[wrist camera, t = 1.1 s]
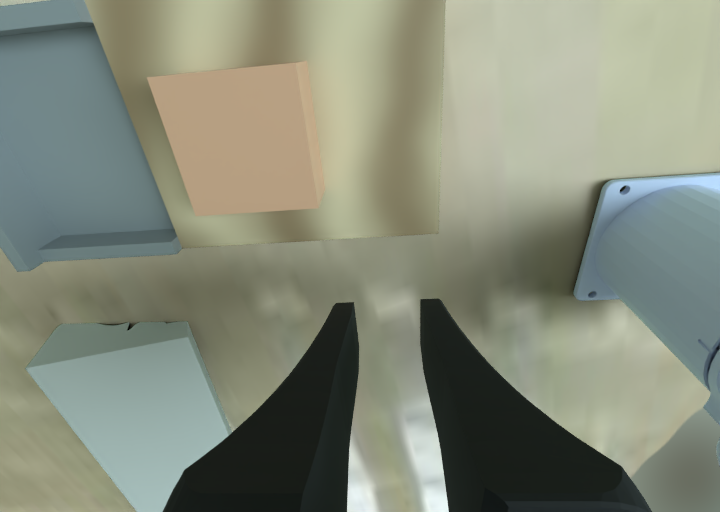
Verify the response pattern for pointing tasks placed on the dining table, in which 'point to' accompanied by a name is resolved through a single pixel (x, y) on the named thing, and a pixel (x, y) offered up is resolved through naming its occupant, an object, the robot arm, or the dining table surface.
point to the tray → (70, 146)
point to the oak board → (329, 95)
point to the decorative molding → (134, 401)
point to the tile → (243, 137)
